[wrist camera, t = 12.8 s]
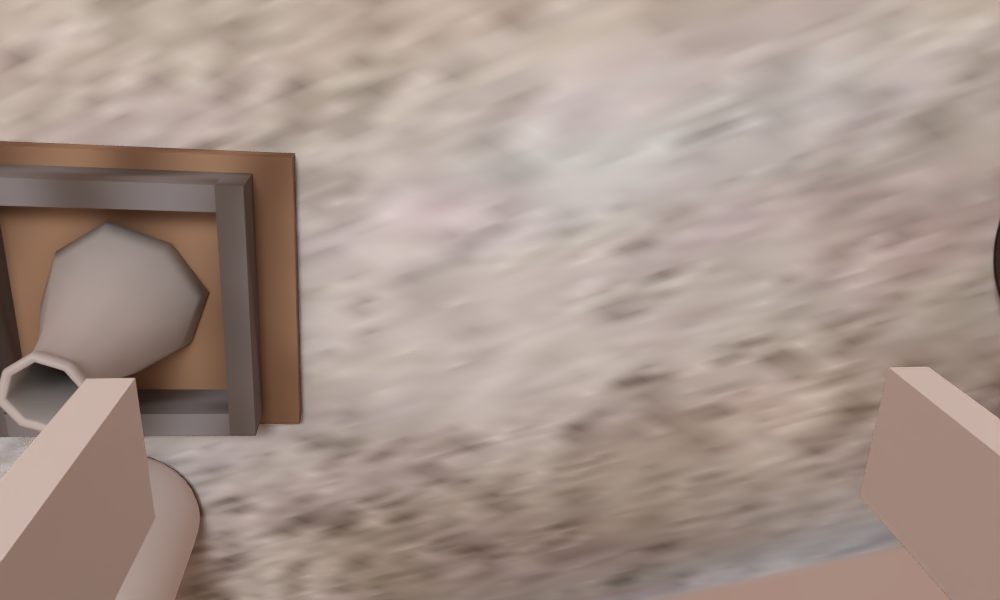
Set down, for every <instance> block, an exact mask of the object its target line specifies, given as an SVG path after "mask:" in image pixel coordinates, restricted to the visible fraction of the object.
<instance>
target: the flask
mask: <svg viewBox="0 0 1000 600" xmlns="http://www.w3.org/2000/svg"><path fill="white" fill-rule="evenodd" d="M207 295H208V291H207V289H206V288H205V287H204V286H203V284H202V283H201V282H200V280H199V279H198V278H197V277H196V275H195V274H194V273H193V271H192V270H191V269H190V268H189V266H188V265H187V264H186V262H185V261H184V260H183V259H182V257H181V256H180V255H179V253H178V252H177V251H176V250H175V248H174V247H173V246H172V244H171V243H169V242H166V241H163V240H160V239H157V238H154V237H152V236H149V235H146V234H143V233H140V232H137V231H135V230H132V229H129V228H126V227H123V226H120V225H118V224H115V223H112V222H109V221H106V222H104V223H103V224H101V225H99V226H98V227H96V228H94V229H93V230H91V231H89V232H88V233H86V234H84V235H83V236H81V237H79V238H78V239H76V240H74V241H73V242H71V243H69V244H68V245H66V246H64V247H63V248H61V249H59V250H58V251H56V252H55V256H54V259H53V263H52V267H51V270H50V274H49V278H48V281H47V285H46V288H45V292H44V296H43V299H42V303H41V308H40V333H39V340H38V342H37V344H36V346H35V348H34V350H33V352H32V353H30V354H28V355H27V356H25V357H23V358H22V359H20V360H18V361H17V362H15V363H13V364H11V365H10V366H8V367H6V368H5V369H4V370H3V371H2V374H1V378H0V407H1V408H2V409H3V410H4V411H5V412H6V413H7V414H8V415H9V416H10V417H11V418H12V419H13V420H14V421H15V422H16V423H17V424H18V426H20V427H24V428H27V429H31V430H34V431H38V432H41V431H42V430H43V429H44V428H45V427H46V425H47V424H48V423H49V422H50V421H51V420H52V418H53V417H54V416H55V415H56V414H57V413H58V411H59V410H60V409H61V408H62V407H63V406H64V404H65V403H66V402H67V401H68V400H69V399H70V397H71V396H72V395H73V394H74V393H75V392H76V390H77V389H78V388H79V387H80V386H81V385H82V383H83V382H84V381H85V380H86V379H97V378H121V377H125V376H128V375H132V374H135V373H138V372H140V371H143V370H144V369H146V368H148V367H150V366H151V365H153V364H155V363H157V362H158V361H160V360H162V359H163V358H165V357H167V356H169V355H170V354H172V353H174V352H176V351H177V350H179V349H181V348H182V347H184V346H186V345H188V344H189V343H191V341H192V338H193V335H194V332H195V329H196V326H197V324H198V321H199V318H200V315H201V312H202V309H203V306H204V303H205V300H206V297H207Z"/></svg>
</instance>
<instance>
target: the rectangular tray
mask: <svg viewBox="0 0 1000 600" xmlns="http://www.w3.org/2000/svg"><path fill="white" fill-rule="evenodd" d="M106 221H109V222H112V223H115V224H118V225H120V226H123V227H126V228H129V229H132V230H135V231H137V232H140V233H143V234H146V235H149V236H152V237H154V238H157V239H160V240H163V241H166V242H169V243H171V244H172V246H173V247H174V248H175V250H176V251H177V252H178V253H179V255H180V256H181V257H182V259H183V260H184V261H185V262H186V264H187V265H188V266H189V268H190V269H191V270H192V271H193V273H194V274H195V275H196V277H197V278H198V279H199V280H200V282H201V283H202V284H203V286H204V287H205V288H206V289H207V291H208V295H207V297H206V300H205V303H204V306H203V309H202V312H201V315H200V318H199V321H198V324H197V326H196V329H195V332H194V335H193V338H192V341H191V343H189V344H188V345H186V346H184V347H182V348H181V349H179V350H177V351H176V352H174V353H172V354H170V355H169V356H167V357H165V358H163V359H162V360H160V361H158V362H157V363H155V364H153V365H151V366H150V367H148V368H146V369H144V370H143V371H140V372H138V373H135V374H132V375H128V376H125V377H121V378H135V380H136V387H137V394H138V401H139V408H140V415H141V422H142V428H143V435H144V436H256V432H257V429H258V426H259V424H299V423H300V418H301V382H300V344H299V305H298V266H297V228H296V189H295V153H272V152H248V151H224V150H200V149H176V148H152V147H128V146H104V145H80V144H56V143H32V142H8V141H0V378H1V374H2V371H3V370H4V369H5V368H6V367H8V366H10V365H11V364H13V363H15V362H17V361H18V360H20V359H22V358H23V357H25V356H27V355H28V354H30V353H32V352H33V350H34V348H35V346H36V344H37V342H38V340H39V333H40V308H41V303H42V299H43V296H44V292H45V288H46V285H47V281H48V278H49V274H50V270H51V267H52V263H53V259H54V256H55V252H56V251H58V250H59V249H61V248H63V247H64V246H66V245H68V244H69V243H71V242H73V241H74V240H76V239H78V238H79V237H81V236H83V235H84V234H86V233H88V232H89V231H91V230H93V229H94V228H96V227H98V226H99V225H101V224H103V223H104V222H106ZM39 434H40V432H38V431H34V430H31V429H27V428H24V427H20V426H18V424H17V423H16V422H15V421H14V420H13V419H12V418H11V417H10V416H9V415H8V414H7V413H6V412H5V411H4V410H3V409H2V408H1V407H0V437H37V436H38V435H39Z"/></svg>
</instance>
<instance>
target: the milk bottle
mask: <svg viewBox="0 0 1000 600" xmlns="http://www.w3.org/2000/svg"><path fill="white" fill-rule="evenodd" d="M147 463H148V470H149V477H150V484H151V491H152V498H153V505H154V512H155V520H154V522H153V524H152V526H151V528H150V530H149V532H148V534H147V536H146V538H145V540H144V542H143V544H142V546H141V548H140V550H139V552H138V554H137V556H136V558H135V560H134V562H133V564H132V566H131V568H130V570H129V572H128V574H127V576H126V578H125V580H124V582H123V584H122V586H121V588H120V590H119V592H118V594H117V596H116V598H115V600H175V597H176V595H177V592H178V589H179V586H180V583H181V580H182V578H183V575H184V572H185V569H186V566H187V563H188V561H189V558H190V555H191V552H192V549H193V546H194V543H195V540H196V537H197V533H198V530H199V524H200V513H199V507H198V503H197V500H196V498H195V496H194V494H193V491H192V489H191V488H190V486H189V485H188V484H187V483H186V481H185V480H184V479H183V478H182V477H181V476H180V475H179V474H178V473H177V472H176V471H175V470H173V469H171V468H170V467H168V466H166V465H165V464H163V463H161V462H159V461H156V460H154V459H152V458H149V457H147Z"/></svg>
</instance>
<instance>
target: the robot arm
mask: <svg viewBox="0 0 1000 600" xmlns="http://www.w3.org/2000/svg"><path fill="white" fill-rule="evenodd" d="M996 273H997V280H998V285H999V289H1000V230H999V235H998V240H997V248H996ZM860 497H861V498H862V500H863V501H864V502H865V503H866V504H867V505H868V506H869V508H870V509H871V510H872V511H873V512H874V513H875V514H876V515H877V517H878V518H879V519H880V520H881V521H882V522H883V523H884V525H885V526H886V527H887V528H888V529H889V530H890V531H891V533H892V534H893V535H894V536H895V537H896V538H897V539H898V541H899V542H900V543H901V544H902V545H903V546H904V547H905V548H906V550H907V551H908V552H909V553H910V554H911V555H912V556H913V558H914V559H915V560H916V561H917V562H918V563H919V564H920V565H921V567H922V568H923V569H924V570H925V571H926V572H927V573H928V575H929V576H930V577H931V578H932V579H933V580H934V581H935V583H936V584H937V585H938V586H939V587H940V588H941V589H942V591H943V592H944V593H945V594H946V595H947V596H948V597H949V598H950V600H1000V419H999V418H998V417H996V416H995V415H993V414H992V413H991V412H989V411H988V410H987V409H985V408H984V407H983V406H981V405H980V404H978V403H977V402H976V401H974V400H973V399H972V398H970V397H969V396H968V395H966V394H965V393H963V392H962V391H961V390H959V389H958V388H957V387H955V386H954V385H952V384H951V383H950V382H948V381H947V380H946V379H944V378H943V377H942V376H940V375H939V374H937V373H936V372H935V371H933V370H932V369H931V368H929V367H889V368H888V372H887V377H886V381H885V386H884V390H883V394H882V399H881V403H880V408H879V412H878V417H877V421H876V425H875V430H874V434H873V439H872V443H871V448H870V452H869V457H868V461H867V465H866V470H865V474H864V479H863V483H862V488H861V492H860ZM154 520H155V512H154V505H153V498H152V491H151V484H150V477H149V470H148V463H147V456H146V449H145V442H144V435H143V428H142V422H141V415H140V408H139V401H138V394H137V387H136V380H135V378H97V379H86V380H85V381H84V382H83V383H82V385H81V386H80V387H79V388H78V389H77V390H76V392H75V393H74V394H73V395H72V396H71V397H70V399H69V400H68V401H67V402H66V403H65V404H64V406H63V407H62V408H61V409H60V410H59V411H58V413H57V414H56V415H55V416H54V417H53V418H52V420H51V421H50V422H49V423H48V424H47V425H46V427H45V428H44V429H43V430H42V431H41V432H40V434H39V435H38V436H37V437H36V438H35V439H34V441H33V442H32V443H31V444H30V445H29V446H28V448H27V449H26V450H25V451H24V452H23V453H22V455H21V456H20V457H19V458H18V459H17V460H16V462H15V463H14V464H13V465H12V466H11V467H10V469H9V470H8V471H7V472H6V473H5V475H4V476H3V477H2V478H1V479H0V600H115V598H116V596H117V594H118V592H119V590H120V588H121V586H122V584H123V582H124V580H125V578H126V576H127V574H128V572H129V570H130V568H131V566H132V564H133V562H134V560H135V558H136V556H137V554H138V552H139V550H140V548H141V546H142V544H143V542H144V540H145V538H146V536H147V534H148V532H149V530H150V528H151V526H152V524H153V522H154Z"/></svg>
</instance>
